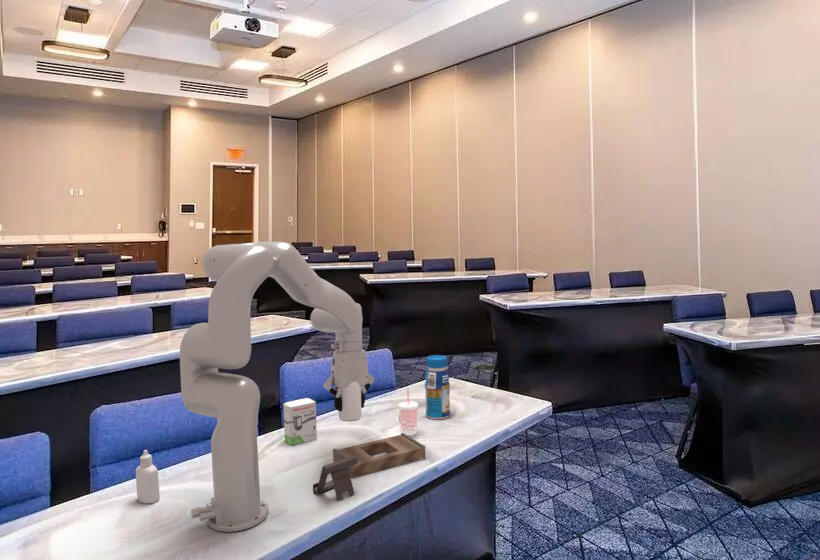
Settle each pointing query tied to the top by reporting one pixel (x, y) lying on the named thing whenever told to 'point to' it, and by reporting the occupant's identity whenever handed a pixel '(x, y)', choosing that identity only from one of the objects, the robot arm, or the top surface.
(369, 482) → the top surface
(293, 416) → the ink box
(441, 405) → the beverage bottle
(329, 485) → the portable electronic device stand
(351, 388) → the can
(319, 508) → the top surface
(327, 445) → the top surface
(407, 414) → the beverage cup
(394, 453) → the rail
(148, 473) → the eye dropper bottle
